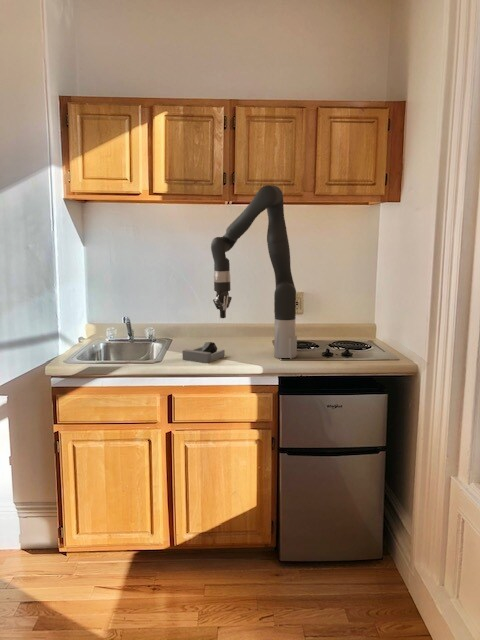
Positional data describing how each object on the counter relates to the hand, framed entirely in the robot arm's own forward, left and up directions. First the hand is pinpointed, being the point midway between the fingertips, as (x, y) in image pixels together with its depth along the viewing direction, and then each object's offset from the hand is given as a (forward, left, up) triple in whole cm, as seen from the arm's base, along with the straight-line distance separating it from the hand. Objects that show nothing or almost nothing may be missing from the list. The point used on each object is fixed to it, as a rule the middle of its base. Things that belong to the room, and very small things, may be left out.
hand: (222, 317), depth 237 cm
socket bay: (0, +16, -16) cm, 23 cm away
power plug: (0, +14, -16) cm, 21 cm away
